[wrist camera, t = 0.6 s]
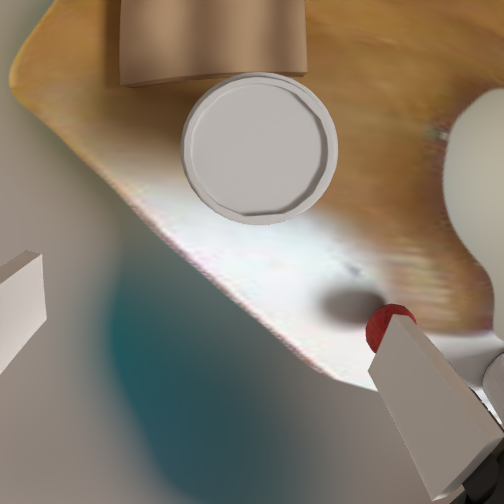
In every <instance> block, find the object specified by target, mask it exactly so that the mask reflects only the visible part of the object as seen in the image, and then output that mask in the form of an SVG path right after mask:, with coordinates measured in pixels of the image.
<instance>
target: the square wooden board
mask: <svg viewBox="0 0 504 504" xmlns="http://www.w3.org/2000/svg"><path fill="white" fill-rule="evenodd" d="M119 70H120V86H124V87H130V88H135V87H141V86H148V85H155V84H162V83H170V82H179V81H188V80H199V79H212V78H228V77H232V76H236V75H240V74H244V73H253V72H266V73H274V74H278V75H282V76H292V77H303V76H304V75H305V74H306V73H307V49H306V26H305V8H304V0H121V15H120V50H119Z"/></svg>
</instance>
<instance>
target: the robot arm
mask: <svg viewBox="0 0 504 504" xmlns="http://www.w3.org/2000/svg"><path fill="white" fill-rule="evenodd" d="M46 319H47V317H46V309H45V298H44V285H43V270H42V254H40V253H36V252H32V251H27V250H26V251H24V252H23V253H21V254H20V255H18V256H17V257H15V258H14V259H12V260H10V261H9V262H7V263H6V264H5V265H3V266H1V267H0V374H1V373H2V372H3V370H4V369H5V368H6V366H7V365H8V364H9V362H10V361H11V360H12V359H13V358H14V357H15V355H16V354H17V353H18V352H19V351H20V349H21V348H22V347H23V346H24V345H25V343H26V342H27V341H28V340H29V339H30V337H31V336H32V335H33V334H34V333H35V332H36V331H37V329H38V328H39V327H40V326H41V325H42V324H43V323H44V321H45V320H46ZM368 372H369V374H370V376H371V378H372V380H373V382H374V384H375V386H376V388H377V390H378V391H379V393H380V395H381V397H382V399H383V401H384V403H385V405H386V407H387V409H388V411H389V413H390V415H391V417H392V419H393V421H394V423H395V425H396V427H397V429H398V431H399V433H400V435H401V437H402V439H403V441H404V443H405V445H406V447H407V449H408V451H409V453H410V455H411V457H412V460H413V462H414V463H415V466H416V468H417V470H418V472H419V474H420V476H421V478H422V481H423V483H424V485H425V487H426V489H427V491H428V494H429V496H430V498H431V500H432V501H434V500H437V499H440V498H443V497H446V496H449V495H451V494H452V493H453V492H454V491H455V490H456V489H457V488H458V487H459V486H460V485H461V484H462V485H463V486H464V488H465V490H464V491H463V492H462V493H461V494H460V495H459V496H458V497H457V498H456V499H454V500H453V501H452V502H451V503H450V504H504V430H503V428H502V427H501V425H500V424H499V423H498V421H497V420H496V419H495V417H494V416H493V415H492V413H491V412H490V411H488V408H487V407H486V406H485V404H484V403H482V400H481V399H480V398H479V397H478V395H477V394H476V393H475V391H473V390H472V389H471V388H470V387H468V386H467V384H466V383H465V382H464V381H463V379H462V378H461V377H460V376H459V374H458V373H457V372H456V371H455V370H454V368H453V367H452V366H451V365H450V363H449V362H448V361H447V360H446V359H445V357H444V356H443V355H442V354H441V353H440V351H439V350H438V349H437V348H436V347H435V346H434V344H433V343H432V342H431V341H430V340H429V339H428V337H427V336H426V335H425V334H424V333H423V332H422V330H421V329H420V328H419V327H418V326H417V325H416V324H415V322H414V321H413V320H412V319H411V318H410V317H409V316H406V315H397V314H393V316H392V318H391V320H390V323H389V325H388V328H387V330H386V332H385V335H384V337H383V339H382V341H381V344H380V346H379V348H378V350H377V353H376V355H375V357H374V359H373V361H372V363H371V365H370V368H369V370H368Z"/></svg>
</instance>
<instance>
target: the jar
mask: <svg viewBox="0 0 504 504" xmlns="http://www.w3.org/2000/svg"><path fill="white" fill-rule="evenodd" d="M483 391H484V393H485V394H486V396H487V398H488V399H489V401H490V403H491V404H492V406H493V408H494V409H495V411H496V413H497V415H498V416H499V418H500V420H501V422H502V423H503V425H504V353H502V354H501V355H499V356H498V357H497V358H496V359H495V360H494V361H493V362H492V363H491V364H490V365H489V366H488V368H487V370H486V372H485V374H484V377H483Z"/></svg>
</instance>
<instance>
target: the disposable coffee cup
mask: <svg viewBox="0 0 504 504" xmlns="http://www.w3.org/2000/svg"><path fill="white" fill-rule="evenodd" d="M180 147H181V161H182V165H183V169H184V173H185V175H186V177H187V179H188V181H189V184H190V186H191V188H192V189H193V191H194V192H195V193H196V194H197V196H198V197H199V198H200V199H201V201H202V202H203V203H205V204H206V205H207V206H208V207H210V208H211V209H212V210H213V211H214V212H216V213H218V214H220V215H222V216H223V217H225V218H227V219H230V220H233V221H236V222H239V223H242V224H250V225H270V224H275V223H280V222H284V221H287V220H290V219H292V218H294V217H296V216H298V215H300V214H301V213H303V212H304V211H306V210H307V209H309V208H310V207H311V206H312V205H313V204H314V203H315V202H316V201H317V200H318V199H319V198H320V197H321V196H322V194H323V193H324V191H325V190H326V188H327V187H328V186H329V184H330V182H331V179H332V176H333V174H334V171H335V169H336V163H337V157H338V140H337V135H336V130H335V126H334V123H333V121H332V119H331V117H330V115H329V112H328V111H327V109H326V108H325V106H324V105H323V103H322V102H321V101H320V100H319V99H318V98H317V97H316V96H315V94H314V93H313V92H312V91H310V90H309V89H308V88H306V87H305V86H303V85H302V84H300V83H298V82H297V81H295V80H293V79H291V78H288V77H285V76H282V75H278V74H274V73H266V72H253V73H244V74H240V75H236V76H232V77H230V78H228V79H226V80H224V81H222V82H219V83H218V84H216V85H215V86H213V87H212V88H210V89H209V90H208V91H207V92H206V93H205V94H204V95H203V96H202V97H201V98H200V99H199V100H198V101H197V102H196V104H195V105H194V107H193V108H192V110H191V111H190V113H189V115H188V117H187V120H186V122H185V124H184V127H183V133H182V138H181V143H180Z"/></svg>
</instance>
